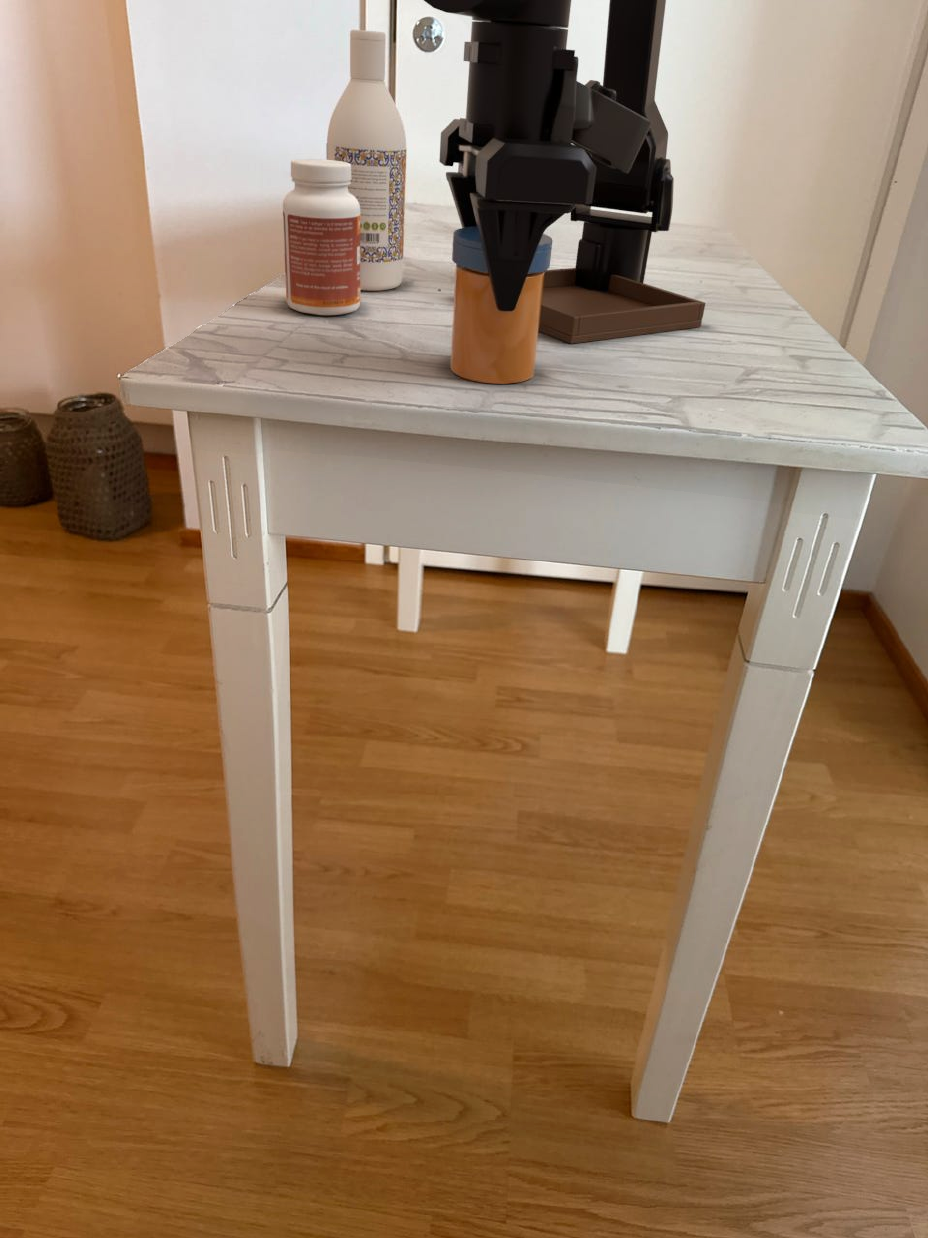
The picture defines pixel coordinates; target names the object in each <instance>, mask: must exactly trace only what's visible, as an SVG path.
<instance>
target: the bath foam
mask: <svg viewBox="0 0 928 1238" xmlns="http://www.w3.org/2000/svg"><path fill="white" fill-rule="evenodd" d="M349 32H350V33H349V76H350V79H349V82H348V84H347V85H346V87H345V89H344V90H343V92H342V94H341V96H340V98H339V99H338V101H337V103H336V105H335V107H334V109H333V112H332V114H331V117H330V120H329V124H328V129H327V136H326V144H325V145H326V160H334V161H342V162H347V163H350V164H351V181H350V182H351V184H349V185H348V192H349V193H350V194H352V195H353V196H354V197H355V198H356V199H357V200H358V202H359V205H360V291H373V292H374V291H387V290H392V289H395V288H397V287H399V286H400V285H401V284H402V282H403V274H404V273H403V270H404V268H403V267H404V246H405V245H404V244H405V243H404V242H405V241H404V240H405V212H406V211H405V209H406V182H407V181H406V180H407V177H406V176H407V150H408V149H407V137H406V131H405V125H404V122H403V119H402V115H401V114H400V112H399V110H398V109H399V108H398V107H397V105H396V103H395V101H394V99H393V97H392V95H391V92H390V91H389V89H388V87H387V85H386V82H385V79H386V78H385V77H386V39H387V38H386V37H387V35H386V33H385V32H383V31H376V30H375V31H374V30H364V29H351V30H350V31H349Z"/></svg>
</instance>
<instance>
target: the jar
mask: <svg viewBox="0 0 928 1238" xmlns="http://www.w3.org/2000/svg"><path fill="white" fill-rule="evenodd" d="M454 275H455V276H454V293H453V294H454V295H453V311H452V329H451V330H452V331H451V348H450V349H451V350H450V365H449V367H450V371H451V372H452V373H453V374H454V375H456V376H457V377H461V378H463V379H465V380H468V381H473V382H478V383H483V384H494V385H495V384H496V385H506V384H507V385H508V384H517V383H522V382H526V381H528V380H530V379H532V378H533V377H534V375H535V371H536V359H537V350H538V340H539V332H540V331H539V323H540V314H541V304H542V295H543V285H544V276H545V271H542V272H537V273H529V274H527V277H526V280H525V283H524V285H523V288H522V291H521V294H520V296H519V299H518V302H517V305H516V308H515V309H514V310H513V311H499V310H498V308H497V306H496V302H495V298H494V294H493V290H492V286H491V282H490V277H489V273H488V272H484V271H478V270H473V269H469V268H465V267H462V266H460V265H458V264H456V263H455V274H454Z"/></svg>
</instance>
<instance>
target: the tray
mask: <svg viewBox="0 0 928 1238" xmlns="http://www.w3.org/2000/svg"><path fill="white" fill-rule="evenodd" d="M575 278H576V269H575V267H570V268H569V267H568V268H555V269H547V270H545V276H544V285H543V295H542V304H541V314H540V323H539V332H541V333H542V334H543V333H544V334H545V335H547V336H550V337H553V338H555V339H558V340H561V341H562V342H565V343H568V344H571V345H573V344H580V343H587V342H596V341H603V340H611V339H618V338H627V337H632V336H633V337H635V336H642V335H649V334H657V333H663V332H672V331H679V330H688V329H695V328H701V327H702V322H703V318H704V313H705V307H706V302H704V301H702V300H698V299H695V298H692V297H688V296H686V295H682V294H679V293H675V292H673V291H670V290H666V289H663V288H660V287H656V286H653V285H650V284H647V283H644V282H643V283H641V282H637V281H634V280H631V279H628V278H625V277H621V276H618V275H611V277H610V284H609V291H606V292H608V293H606V294H605V293H603V292H605V291H603V292H602V291H601V292H602V293H600V292H597V291H595V290H589V289H586V288H583V287H580V286H577V285H576V284H575ZM609 292H610V293H609ZM611 292H613V293H611ZM608 294H609V295H608ZM611 294H612V295H611Z"/></svg>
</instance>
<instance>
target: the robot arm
mask: <svg viewBox="0 0 928 1238" xmlns="http://www.w3.org/2000/svg"><path fill="white" fill-rule="evenodd" d="M423 2H425V3H426V4H427V5H429V6H430V7H431V8H433V9H436V10H439V11H440V12H444V13H448V14H452V15H453V14H454V15H458V16H466V17H471V20H472V21H471V29H470V41H464V46H463V62H468V78H467V79H468V80H467V93H466V108H465V109H466V110H465V118H464V117H460V118H454V119H453V120H452V121H451V122H450V123H449V124H448V125H447V126H446V127H445V128H444V129H443V130H441V132H440V143H439V163H440V164H442V165H443V166H444V167H454V164H458V166H457V167H458V169H457V171H447V172H445V178H446V181H447V182H448V186H449V190H450V192H451V196H452V198H453V202H454V205H455V208H456V211H457V215H458V218H459V222H460V224H461V228H466V227H476V226H477V227H478V231H479V235H480V239H481V243H482V248H483V252H484V256H485V260H486V265H487V269H488V273H489V277H490V282H491V286H492V290H493V294H494V298H495V302H496V306H497V308H498V310H499V311H513V310H514V309H515V308H516V305H517V302H518V299H519V296H520V294H521V291H522V288H523V285H524V283H525V280H526V277H527V274H528V272H529V269H530V266H531V263H532V261H533V258H534V255H535V253H536V250H537V248H538V245H539V243H540V240H541V238H542V235H543V234H545V232H546V230H547V229H548V228H549V227H551V226H552V225H553V224H554V223H556V221H558V220H559V219H560V218H562V217H563V216H564V215H566V214H570V221H571V222H583V224H582V225H583V227H582V232H581V233H582V234H581V238H580V239H579V240H578V244H577V251H576V260H575V267H574V268H575V269H576V278H575V284H576V285H577V286H580V287H583V288H586V289H589V290H595V291H597V292H600V293H602V292H603V291H605V292H603V293H605V294H606V293H608V292H606V291H609V284H610V277H611V275H618V276H621V277H625V278H628V279H631V280H634V281H637V282H641V283H644V281H645V275H646V269H647V265H648V264H647V263H648V258H649V252H650V247H651V240H652V234H653V233H658V232H669V231H670V227H671V221H672V215H673V205H674V204H673V203H674V185H675V184H674V183H675V182H674V181H675V178H674V177H673V175H672V169H671V168H672V165H671V159H670V158H667V151H668V142H669V131H668V129H667V127H666V124H665V121H664V120H663V119H664V118H663V117H662V115H661V112H660V109H659V107H658V105H657V103H656V91H657V90H656V89H657V79H658V71H659V65H660V54H661V46H662V39H663V29H664V20H665V14H666V13H665V12H666V4H667V0H609V5H608V18H607V20H608V21H607V30H606V43H605V55H604V67H603V77H602V78H603V80H602V84H601V82H600V81H598V80H594V79H590V80H588V81H587V82H586V83H585V84H583V83H581V82H580V81H578V70H579V57H578V56H577V55H576V49H567V45H568V35H569V27H570V15H571V8H572V0H423ZM575 55H576V56H575ZM594 208H599V209H594ZM601 209H606V210H601ZM609 210H610V211H609ZM611 210H615V211H611ZM617 211H623V212H630V213H623V212H617ZM632 213H639V214H632ZM647 213H651V216H648V215H647V216H646V214H647ZM641 214H645V215H641ZM601 291H602V292H601ZM609 293H610V292H609ZM611 293H613V292H611ZM608 295H609V294H608ZM611 295H612V294H611Z"/></svg>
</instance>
